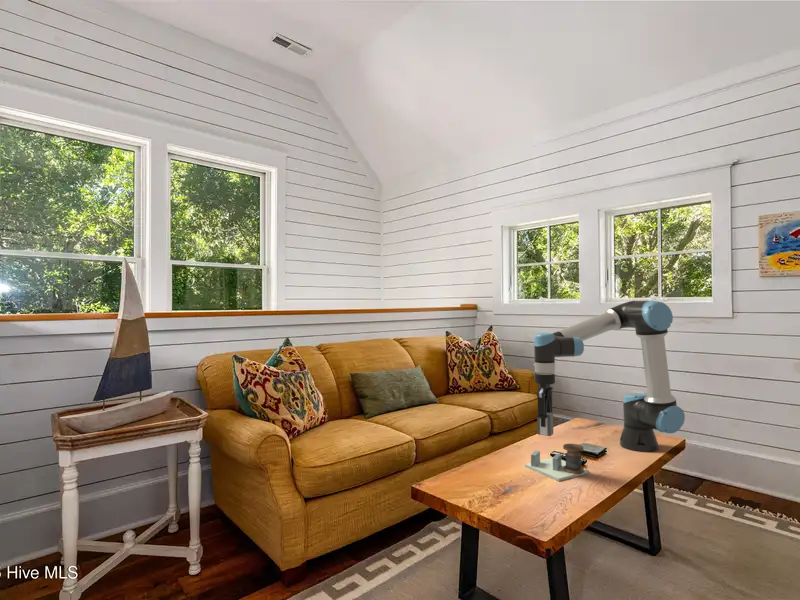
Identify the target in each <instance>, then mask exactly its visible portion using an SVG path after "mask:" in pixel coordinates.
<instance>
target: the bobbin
mask: <svg viewBox="0 0 800 600" xmlns="http://www.w3.org/2000/svg"><path fill="white" fill-rule="evenodd" d="M562 446H563V447H562V448H563V450H565V451H566V452H565V461H566V466H564V471H566V472H568V473H572V474H581V473H583V472H584V467H583V466H582V454H581V453H580V452H583V451H584V446H583V445H581V444H577V443H565V444H563V445H562Z"/></svg>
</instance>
